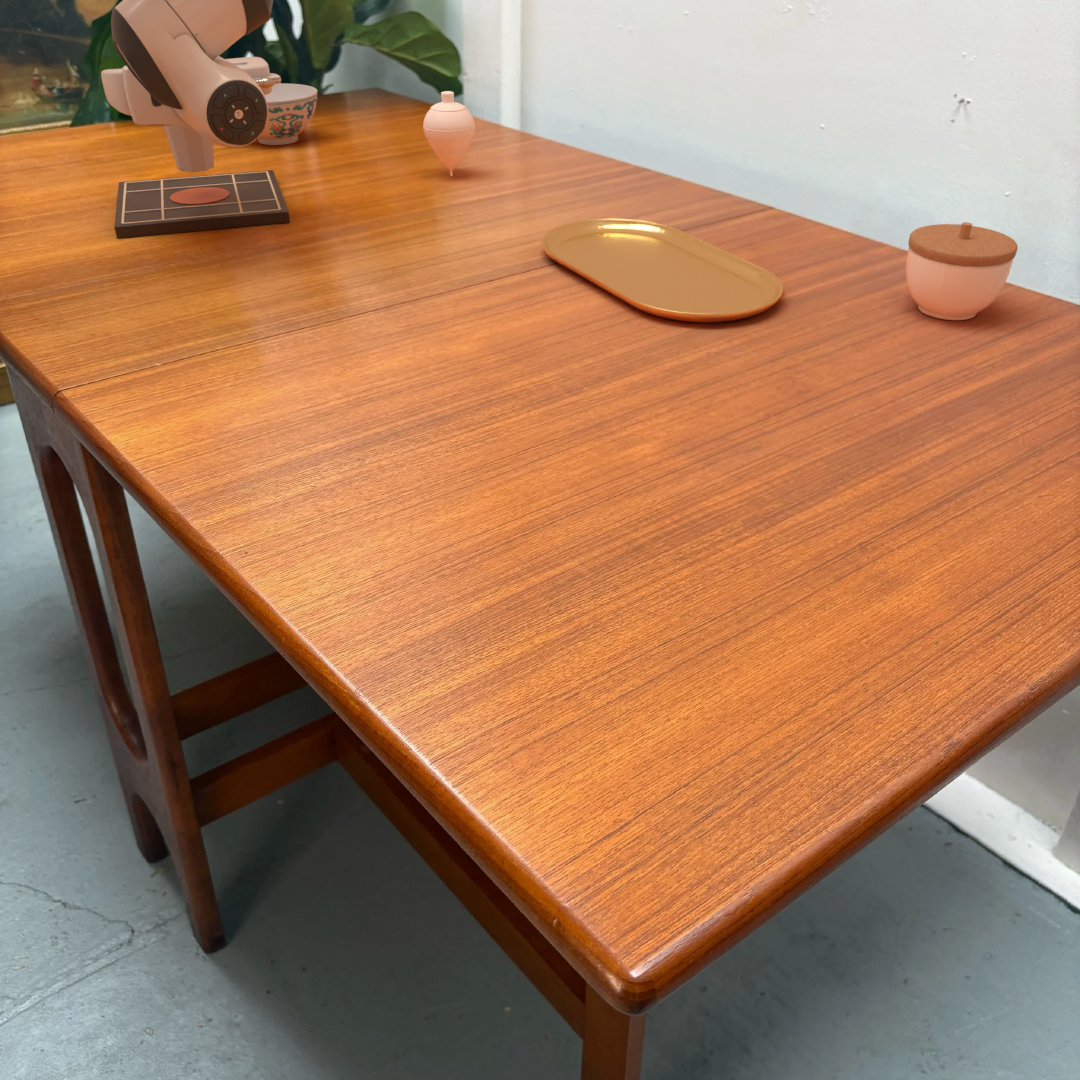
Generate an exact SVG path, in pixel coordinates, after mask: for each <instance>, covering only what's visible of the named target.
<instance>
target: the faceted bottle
mask: <svg viewBox="0 0 1080 1080" xmlns="http://www.w3.org/2000/svg"><path fill="white" fill-rule="evenodd" d="M163 128H164V131H165V134H166V137H167V141H168V144H169V146H170V150H171V152H172V155H173V159H174V162H175V165H176V168H177V170H179V171H180V172H183V173H192V174H193V173H200V172H207V171H209V170H211V169H213V168H215V158H214V142H211V141H210V140H208V139H206V138H204V137H203V136H201V135H200V134H199V133H197V132H196V131H195V130H194V129H189V128H184V127H179V126H172V125H170V126H166V125H163Z"/></svg>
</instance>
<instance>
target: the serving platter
mask: <svg viewBox="0 0 1080 1080" xmlns="http://www.w3.org/2000/svg"><path fill="white" fill-rule="evenodd" d="M540 244H541V248H542V249H543V252H544V253H545V254H546V255H547V256H548V257H549V258H550V259H552V260H553V261H554V262H556V263H558V264H560V265H561V266H562V267H565V268H566V269H568V270H570V271H571V272H573V273H575V274H577V275H579V276H580V277H581V278H584V279H585V280H587V281H589V282H590V283H592V284H594V285H596V286H598V287H599V288H601V289H603V290H604V291H606V292H608V293H610V294H612V295H613V296H615V297H616V298H618V299H620V300H621V301H623V302H624V303H627V304H628V305H630V306H632V307H634V308H636V309H638V310H640V311H641V312H645V313H647V314H649V315H653V316H656V317H660V318H663V319H668V320H674V321H679V322H688V323H689V322H690V323H722V322H723V323H724V322H732V321H737V320H743V319H746V318H750V317H753V316H756V315H758V314H761V313H763V312H765V311H767V310H769V309H770V308H771V307H773V306H775V304H777V302H779V300H780V299H781V297H782V295H783V293H784V286H783V283H782V281H781V280H780V278H779V277H778V276H777V275H775V274H774V273H773V272H772V271H770V270H768V269H766V268H765V267H762V266H760V265H758V264H755V263H753V262H751V261H749V260H746V259H744V258H742V257H740V256H738V255H735V254H734V253H731V252H729V251H727V250H725V249H722V248H720V247H718V246H716V245H713V244H711V243H709V242H707V241H705V240H703V239H700V238H698V237H696V236H694V235H691V234H689V233H687V232H685V231H682V230H680V229H678V228H676V227H674V226H670V225H667V224H663V223H660V222H657V221H649V220H644V219H634V218H620V217H619V218H618V217H617V218H616V217H615V218H614V217H613V218H611V217H610V218H608V217H607V218H591V219H583V220H577V221H572V222H568V223H563V224H561V225H558V226H555V227H553V228H551V229H550V230H548V231H547V232H546V233H544V234H543V236H542V238H541V240H540Z"/></svg>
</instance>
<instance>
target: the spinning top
mask: <svg viewBox="0 0 1080 1080" xmlns="http://www.w3.org/2000/svg"><path fill="white" fill-rule="evenodd" d="M440 97H441V101H440V102H437V103H434V104H433V105H431V106H430V108H429V110H428V111H427V112H426V114H425V115H424V118H423V123H422V127H423V133H424V137H425V139H426V140H427V142H428V144H429V146H430V148H431V149H432V151H433V152H434V153H435V155H436V156H437V158H438V159H439V160H440V162H441V163H442V165H444V166H445V168H446V169H447V170H449V176H450V177H453V175H454V173H453V170H454V169H455V168H456V167H457V166H458V164H459V163H460V162H461V161H462V159H463V157H464V156H465V154H466V153H467V150H468V148H469V146H470V144H471V142H472V140H473V137H474V135H475V127H476V124H475V120H474V117H473V115H472V113H471V112H470V111H469V109H468V108H467V107H466V106H465V105H464V104H462V103H460V102H457V101H454V100H455V92H454V91H451V90H445V91H441V92H440Z"/></svg>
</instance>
